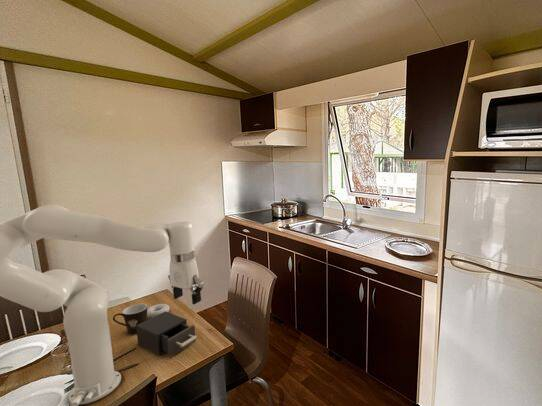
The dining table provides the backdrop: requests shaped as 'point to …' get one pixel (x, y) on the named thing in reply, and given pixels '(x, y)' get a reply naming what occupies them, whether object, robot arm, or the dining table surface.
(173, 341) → the drawer
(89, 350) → the robot arm
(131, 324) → the coffee mug
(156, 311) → the donut
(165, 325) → the gray drawer box
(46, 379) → the dining table surface
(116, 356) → the dining table surface
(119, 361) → the dining table surface
